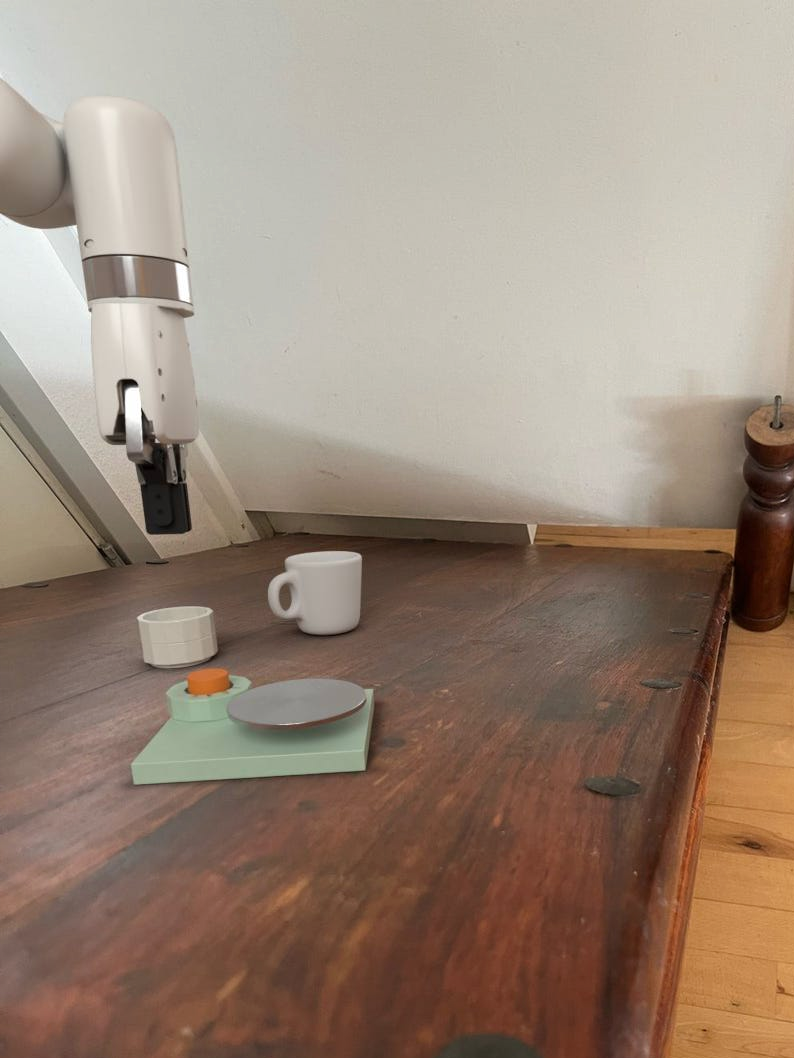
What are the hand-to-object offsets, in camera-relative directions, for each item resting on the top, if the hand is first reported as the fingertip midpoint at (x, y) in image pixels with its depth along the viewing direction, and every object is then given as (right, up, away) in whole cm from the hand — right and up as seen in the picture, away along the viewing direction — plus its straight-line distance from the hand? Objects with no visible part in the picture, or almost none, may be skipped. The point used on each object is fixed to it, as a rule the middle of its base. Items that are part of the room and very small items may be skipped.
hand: (169, 532), depth 64 cm
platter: (+14, -13, -13) cm, 23 cm away
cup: (+8, -8, +18) cm, 22 cm away
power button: (+6, -13, -8) cm, 16 cm away
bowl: (-3, -11, +10) cm, 15 cm away
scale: (+11, -16, -11) cm, 22 cm away
